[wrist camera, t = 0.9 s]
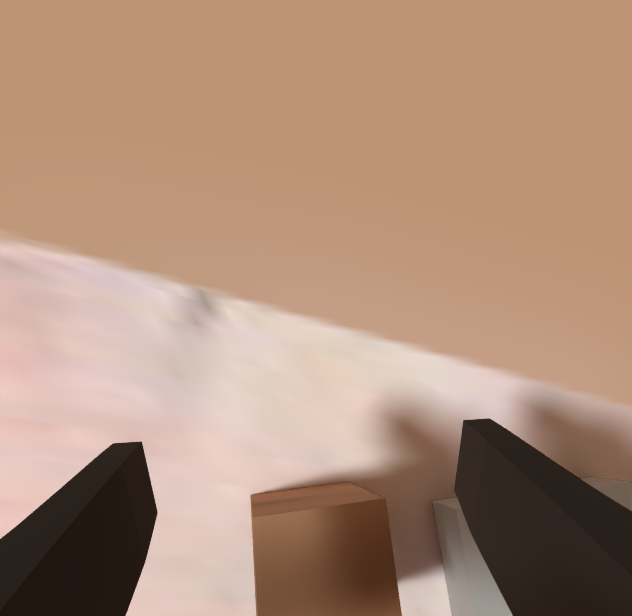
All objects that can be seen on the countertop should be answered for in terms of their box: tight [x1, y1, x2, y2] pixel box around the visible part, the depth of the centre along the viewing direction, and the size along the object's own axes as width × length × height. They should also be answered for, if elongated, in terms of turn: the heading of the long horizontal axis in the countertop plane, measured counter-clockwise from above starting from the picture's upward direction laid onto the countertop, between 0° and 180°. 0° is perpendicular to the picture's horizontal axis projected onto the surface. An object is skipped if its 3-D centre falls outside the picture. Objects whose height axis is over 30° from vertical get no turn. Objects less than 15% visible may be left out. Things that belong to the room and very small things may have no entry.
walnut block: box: [251, 482, 402, 616], centre depth 17 cm, size 5×5×6 cm
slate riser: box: [432, 477, 632, 616], centre depth 19 cm, size 10×10×3 cm
